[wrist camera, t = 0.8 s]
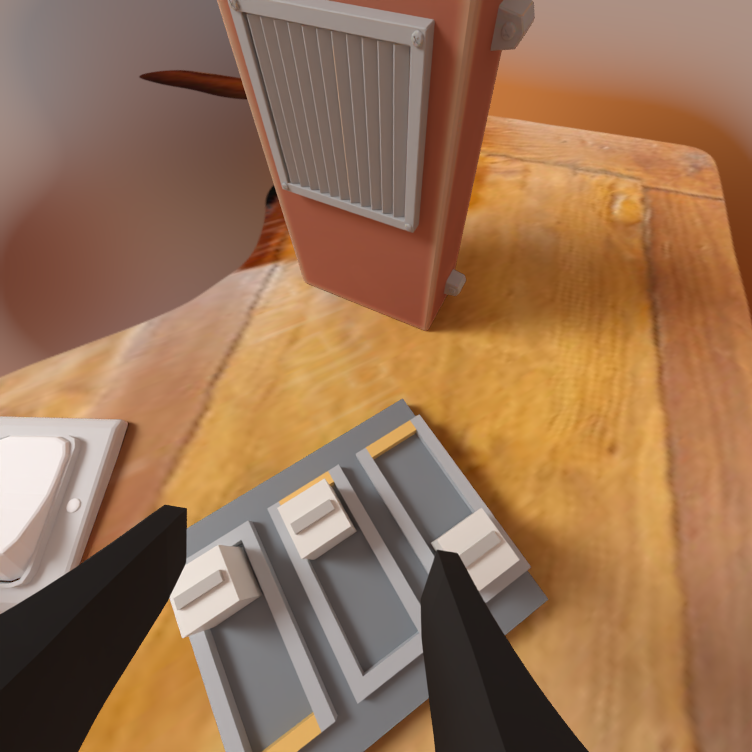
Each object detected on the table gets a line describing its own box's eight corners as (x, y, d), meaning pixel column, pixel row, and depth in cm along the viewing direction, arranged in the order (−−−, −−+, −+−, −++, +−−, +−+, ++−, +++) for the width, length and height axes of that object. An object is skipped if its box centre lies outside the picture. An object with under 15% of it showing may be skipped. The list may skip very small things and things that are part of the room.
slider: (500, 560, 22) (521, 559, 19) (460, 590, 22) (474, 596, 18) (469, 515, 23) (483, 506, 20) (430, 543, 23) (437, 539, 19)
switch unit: (542, 596, 22) (555, 599, 21) (268, 819, 19) (256, 846, 17) (403, 404, 28) (404, 393, 27) (175, 542, 25) (158, 540, 23)
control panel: (325, 236, 37) (467, 287, 33) (286, 285, 34) (436, 346, 31) (254, -114, 18) (568, -84, 14) (154, -65, 15) (509, -12, 12)
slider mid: (356, 531, 23) (350, 525, 20) (314, 559, 23) (300, 558, 19) (333, 489, 24) (323, 477, 21) (293, 515, 24) (275, 507, 20)
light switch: (-165, 618, 21) (-53, 403, 26) (-80, 606, 25) (4, 420, 30) (18, 628, 20) (96, 407, 25) (77, 614, 24) (134, 423, 29)
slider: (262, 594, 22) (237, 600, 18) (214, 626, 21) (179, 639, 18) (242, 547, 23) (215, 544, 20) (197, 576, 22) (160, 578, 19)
